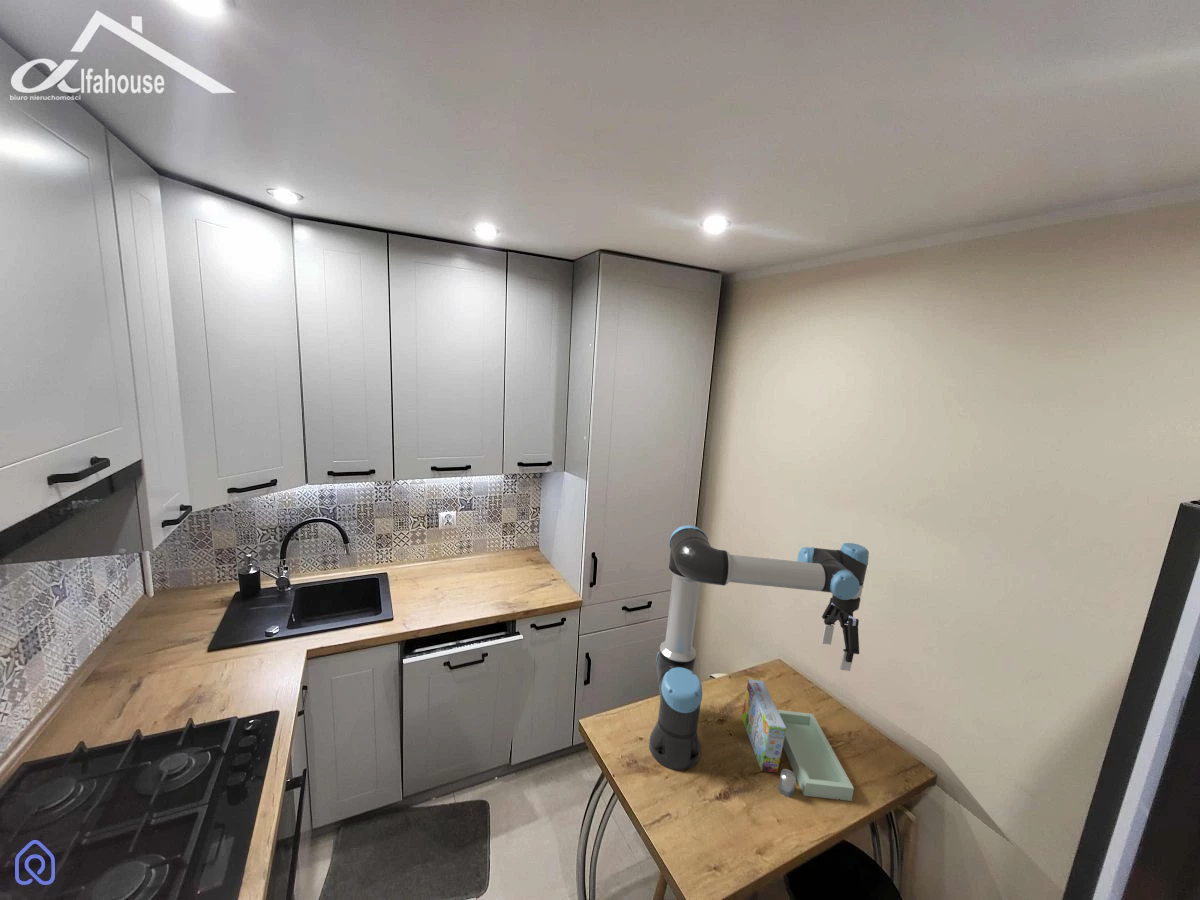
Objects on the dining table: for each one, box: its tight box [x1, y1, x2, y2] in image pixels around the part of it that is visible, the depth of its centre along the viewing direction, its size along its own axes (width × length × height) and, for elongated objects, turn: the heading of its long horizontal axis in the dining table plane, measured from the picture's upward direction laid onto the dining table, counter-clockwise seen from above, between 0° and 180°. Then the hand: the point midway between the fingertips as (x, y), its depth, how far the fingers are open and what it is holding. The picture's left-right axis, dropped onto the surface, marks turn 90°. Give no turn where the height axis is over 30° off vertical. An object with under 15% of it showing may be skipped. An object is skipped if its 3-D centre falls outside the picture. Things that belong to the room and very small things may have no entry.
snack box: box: [741, 678, 786, 773], centre depth 144 cm, size 21×6×15 cm, turn 179°
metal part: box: [777, 768, 797, 798], centre depth 129 cm, size 4×4×5 cm
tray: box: [777, 709, 855, 802], centre depth 142 cm, size 13×28×4 cm, turn 177°
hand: (835, 656), depth 147 cm, fingers open, 13 cm apart
